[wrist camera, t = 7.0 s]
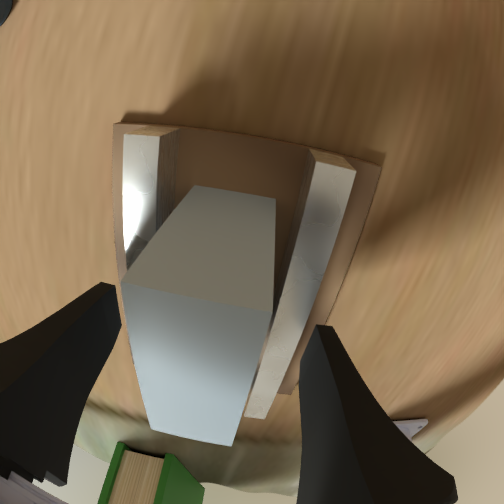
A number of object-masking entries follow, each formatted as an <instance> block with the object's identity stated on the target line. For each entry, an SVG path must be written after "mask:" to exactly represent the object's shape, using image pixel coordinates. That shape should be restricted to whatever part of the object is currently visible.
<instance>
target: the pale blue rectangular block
mask: <svg viewBox="0 0 504 504" xmlns="http://www.w3.org/2000/svg"><path fill="white" fill-rule="evenodd" d="M275 217H276V199H274V198H268V197H263V196H258V195H252V194H246V193H241V192H235V191H229V190H223V189H217V188H210V187H204V186H198V185H194V186H193V188H192V189H191V190H190V191H189V192H188V194H187V195H186V196H185V197H184V198H183V200H182V201H181V202H180V203H179V205H178V206H177V207H176V208H175V209H174V211H173V212H172V213H171V214H170V216H169V217H168V218H167V220H166V221H165V222H164V223H163V225H162V226H161V227H160V228H159V230H158V231H157V232H156V234H155V235H154V236H153V238H152V239H151V240H150V242H149V243H148V244H147V245H146V247H145V248H144V249H143V251H142V252H141V254H140V255H139V256H138V258H137V259H136V260H135V262H134V263H133V264H132V266H131V267H130V269H129V270H128V271H127V273H126V274H125V276H124V277H123V278H122V280H121V281H120V282H121V290H122V298H123V305H124V311H125V317H126V323H127V329H128V335H129V340H130V345H131V350H132V355H133V360H134V365H135V369H136V374H137V378H138V382H139V386H140V390H141V394H142V398H143V402H144V406H145V409H146V413H147V416H148V420H149V423H150V426H151V429H153V430H156V431H160V432H164V433H168V434H172V435H176V436H180V437H184V438H189V439H193V440H198V441H203V442H208V443H214V444H219V445H226V446H232V443H233V440H234V437H235V434H236V431H237V428H238V425H239V422H240V419H241V416H242V413H243V410H244V406H245V403H246V400H247V397H248V394H249V390H250V387H251V384H252V381H253V377H254V374H255V371H256V368H257V364H258V361H259V358H260V354H261V351H262V347H263V344H264V341H265V337H266V334H267V330H268V327H269V323H270V320H271V316H272V313H273V288H274V257H275Z"/></svg>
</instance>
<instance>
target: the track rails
mask: <svg viewBox="0 0 504 504" xmlns="http://www.w3.org/2000/svg"><path fill="white" fill-rule="evenodd" d="M179 138H180V128H175V127H163V126H146V127H143V128H140V129H137V130H134V131H131V132H128V133H126V134H124V142H123V221H124V241H125V255H126V267H127V271H128V270H129V269H130V267H131V266H132V264H133V263H134V262H135V260H136V259H137V258H138V256H139V255H140V254H141V252H142V251H143V249H144V248H145V247H146V245H147V244H148V243H149V242H150V240H151V239H152V238H153V236H154V235H155V234H156V232H157V231H158V230H159V228H160V227H161V226H162V225H163V223H164V222H165V221H166V220H167V218H168V217H169V216H170V214H171V213H172V212H173V211H174V201H175V185H176V171H177V159H178V148H179ZM355 174H356V170H355V169H354V168H353V167H352V166H351V165H350V164H349V163H348V162H347V161H346V160H345V159H344V158H343V157H342V156H338V155H334V154H330V153H326V152H322V151H318V150H313V149H309V151H308V156H307V160H306V165H305V169H304V173H303V178H302V182H301V186H300V191H299V195H298V199H297V203H296V207H295V212H294V216H293V220H292V224H291V228H290V232H289V236H288V240H287V244H286V248H285V252H284V256H283V260H282V264H281V268H280V272H279V275H278V279H277V283H276V287H275V291H274V294H273V313H272V316H271V320H270V323H269V327H268V330H267V334H266V337H265V341H264V344H263V347H262V351H261V354H260V358H259V361H258V364H257V368H256V371H255V374H254V377H253V381H252V384H251V387H250V390H249V394H248V397H247V400H246V403H245V411H244V417H251V418H258V419H265V417H266V415H267V413H268V411H269V409H270V407H271V404H272V402H273V400H274V398H275V396H276V393H277V391H278V389H279V387H280V384H281V382H282V380H283V378H284V375H285V373H286V371H287V368H288V366H289V364H290V361H291V359H292V356H293V354H294V352H295V349H296V347H297V344H298V342H299V339H300V337H301V334H302V332H303V329H304V327H305V324H306V322H307V319H308V316H309V314H310V311H311V309H312V306H313V303H314V301H315V298H316V295H317V292H318V290H319V287H320V284H321V281H322V279H323V276H324V273H325V270H326V267H327V264H328V261H329V258H330V255H331V253H332V250H333V247H334V244H335V240H336V237H337V234H338V231H339V228H340V225H341V222H342V219H343V215H344V212H345V209H346V205H347V202H348V199H349V195H350V192H351V189H352V185H353V182H354V178H355Z"/></svg>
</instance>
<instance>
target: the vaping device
mask: <svg viewBox="0 0 504 504" xmlns="http://www.w3.org/2000/svg"><path fill="white" fill-rule="evenodd" d="M11 7H12V0H0V26H1V25H2V23H3V22H4V21H5V19H6V18H7V16H8V14H9V12H10V10H11Z"/></svg>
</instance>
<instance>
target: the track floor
mask: <svg viewBox="0 0 504 504" xmlns="http://www.w3.org/2000/svg"><path fill="white" fill-rule="evenodd" d="M146 126H163V127H175V128H180V138H179V148H178V159H177V171H176V185H175V201H174V209H175V208H176V207H177V206H178V205H179V203H180V202H181V201H182V200H183V198H184V197H185V196H186V195H187V194H188V192H189V191H190V190H191V189H192V188H193V186H194V185H198V186H204V187H210V188H217V189H223V190H229V191H235V192H241V193H246V194H252V195H258V196H263V197H268V198H274V199H276V217H275V257H274V288H273V294H274V291H275V287H276V283H277V279H278V275H279V272H280V268H281V264H282V260H283V256H284V252H285V248H286V244H287V240H288V236H289V232H290V228H291V224H292V220H293V216H294V212H295V207H296V203H297V199H298V195H299V191H300V186H301V182H302V178H303V173H304V169H305V165H306V160H307V156H308V151H309V149H313V150H318V151H322V152H326V153H330V154H334V155H338V156H342V157H343V158H344V159H345V160H346V161H347V162H348V163H349V164H350V165H351V166H352V167H353V168H354V169H355V170H356V174H355V178H354V182H353V185H352V189H351V192H350V195H349V199H348V202H347V205H346V209H345V212H344V215H343V219H342V222H341V225H340V228H339V231H338V234H337V237H336V240H335V244H334V247H333V250H332V253H331V255H330V258H329V261H328V264H327V267H326V270H325V273H324V276H323V279H322V281H321V284H320V287H319V290H318V292H317V295H316V298H315V301H314V303H313V306H312V309H311V311H310V314H309V316H308V319H307V322H306V324H305V327H304V329H303V332H302V334H301V337H300V339H299V342H298V344H297V347H296V349H295V352H294V354H293V356H292V359H291V361H290V364H289V366H288V368H287V371H286V373H285V375H284V378H283V380H282V382H281V384H280V387H279V389H278V391H277V393H279V394H288V395H291V394H292V392H293V390H294V388H295V386H296V384H297V382H298V380H299V370H300V360H301V357H302V355H303V353H304V351H305V348H306V346H307V344H308V342H309V339H310V337H311V335H312V332H313V330H314V328H315V325H316V324H318V325H325V322H326V320H327V318H328V316H329V313H330V311H331V309H332V306H333V304H334V301H335V299H336V297H337V294H338V292H339V289H340V287H341V284H342V282H343V279H344V277H345V274H346V272H347V269H348V267H349V264H350V261H351V259H352V256H353V253H354V251H355V248H356V245H357V242H358V240H359V237H360V234H361V231H362V228H363V225H364V222H365V220H366V217H367V214H368V211H369V208H370V204H371V201H372V198H373V195H374V192H375V189H376V185H377V182H378V179H379V175H380V172H381V169H382V167H381V166H379V165H378V164H375V163H372V162H368V161H365V160H361V159H358V158H354V157H350V156H346V155H343V154H339V153H335V152H331V151H327V150H322V149H318V148H314V147H309V146H305V145H300V144H295V143H291V142H286V141H281V140H275V139H270V138H264V137H259V136H253V135H247V134H240V133H234V132H227V131H220V130H212V129H204V128H195V127H186V126H175V125H163V124H149V123H131V122H118V123H114V124H113V146H112V194H113V218H114V234H115V247H116V258H117V267H118V276H119V284H120V292H121V299H122V306H123V312H124V318H125V324H126V330H127V335H128V329H127V323H126V317H125V311H124V305H123V298H122V290H121V282H120V281H121V280H122V278H123V277H124V276H125V274H126V273H127V267H126V255H125V241H124V221H123V142H124V134H126V133H128V132H131V131H134V130H137V129H140V128H143V127H146ZM128 340H129V335H128ZM129 345H130V340H129ZM130 350H131V345H130ZM131 355H132V350H131ZM132 360H133V355H132ZM133 364H134V360H133Z"/></svg>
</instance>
